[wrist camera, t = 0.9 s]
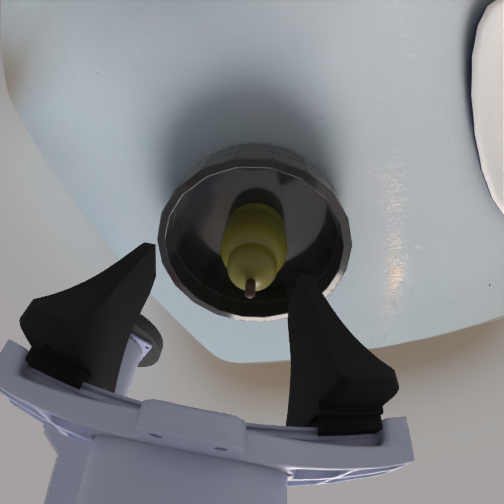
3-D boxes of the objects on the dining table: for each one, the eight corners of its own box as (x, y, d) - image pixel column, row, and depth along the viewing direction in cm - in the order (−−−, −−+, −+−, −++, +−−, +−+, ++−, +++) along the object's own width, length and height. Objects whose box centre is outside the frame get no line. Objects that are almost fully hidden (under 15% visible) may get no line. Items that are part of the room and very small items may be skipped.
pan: (269, 309, 27) (269, 341, 24) (149, 238, 23) (132, 266, 20) (371, 215, 21) (388, 242, 18) (235, 106, 17) (227, 113, 14)
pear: (261, 263, 24) (257, 333, 17) (214, 234, 22) (194, 300, 16) (297, 225, 21) (308, 292, 15) (248, 190, 20) (239, 248, 14)
